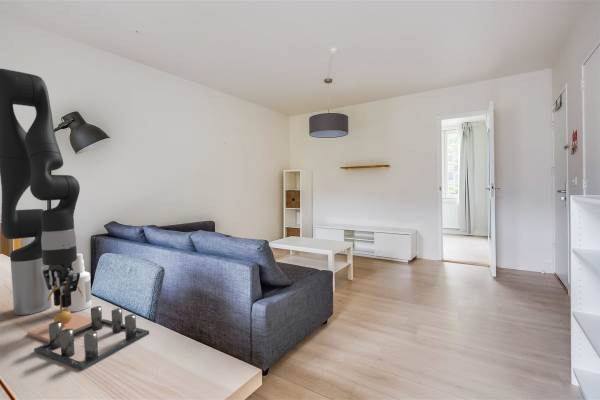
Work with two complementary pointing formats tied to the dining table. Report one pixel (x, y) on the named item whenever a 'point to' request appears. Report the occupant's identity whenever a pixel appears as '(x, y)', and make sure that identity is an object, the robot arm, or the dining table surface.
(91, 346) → the standoff field
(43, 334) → the terracotta tile
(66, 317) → the figurine
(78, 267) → the white piece
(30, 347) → the dining table surface
